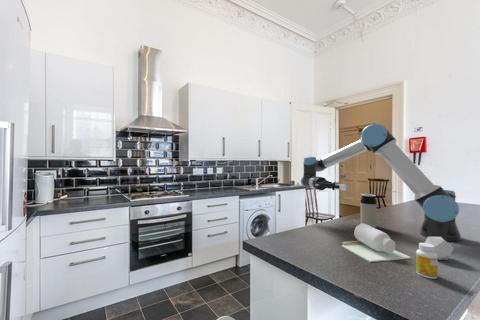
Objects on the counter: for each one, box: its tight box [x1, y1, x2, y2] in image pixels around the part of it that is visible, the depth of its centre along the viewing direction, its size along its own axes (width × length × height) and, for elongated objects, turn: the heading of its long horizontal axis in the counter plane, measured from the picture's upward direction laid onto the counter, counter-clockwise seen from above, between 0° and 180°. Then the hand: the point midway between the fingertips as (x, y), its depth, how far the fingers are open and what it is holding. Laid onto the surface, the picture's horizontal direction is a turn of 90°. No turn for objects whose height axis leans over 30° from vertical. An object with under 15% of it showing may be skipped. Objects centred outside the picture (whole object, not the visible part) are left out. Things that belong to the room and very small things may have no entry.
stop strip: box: [341, 240, 364, 246], centre depth 101 cm, size 1×16×2 cm, turn 102°
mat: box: [341, 244, 412, 263], centre depth 92 cm, size 16×18×1 cm
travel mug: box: [360, 193, 378, 228], centre depth 131 cm, size 8×8×18 cm
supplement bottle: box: [415, 242, 439, 280], centre depth 74 cm, size 5×5×10 cm
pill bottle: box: [353, 223, 397, 253], centre depth 94 cm, size 8×8×15 cm
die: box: [424, 237, 455, 261], centre depth 87 cm, size 8×9×10 cm
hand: (344, 187), depth 110 cm, fingers closed
